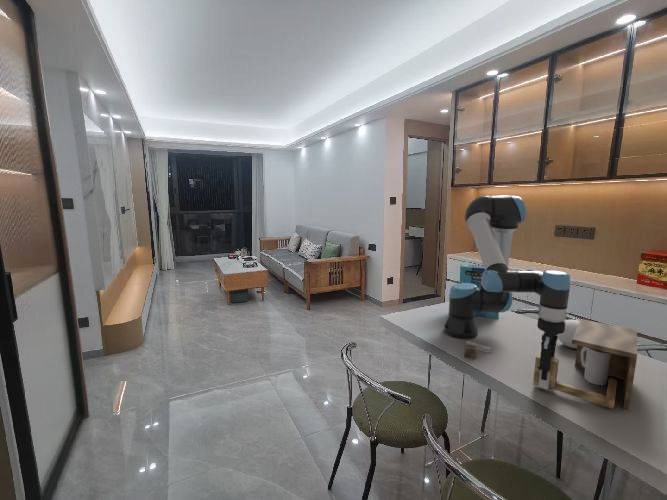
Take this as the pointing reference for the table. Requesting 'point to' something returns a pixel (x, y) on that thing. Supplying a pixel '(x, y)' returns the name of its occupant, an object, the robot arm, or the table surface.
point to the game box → (474, 276)
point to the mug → (596, 365)
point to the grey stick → (479, 346)
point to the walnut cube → (470, 351)
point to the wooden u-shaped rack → (573, 390)
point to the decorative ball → (569, 333)
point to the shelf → (610, 350)
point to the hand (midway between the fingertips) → (544, 384)
